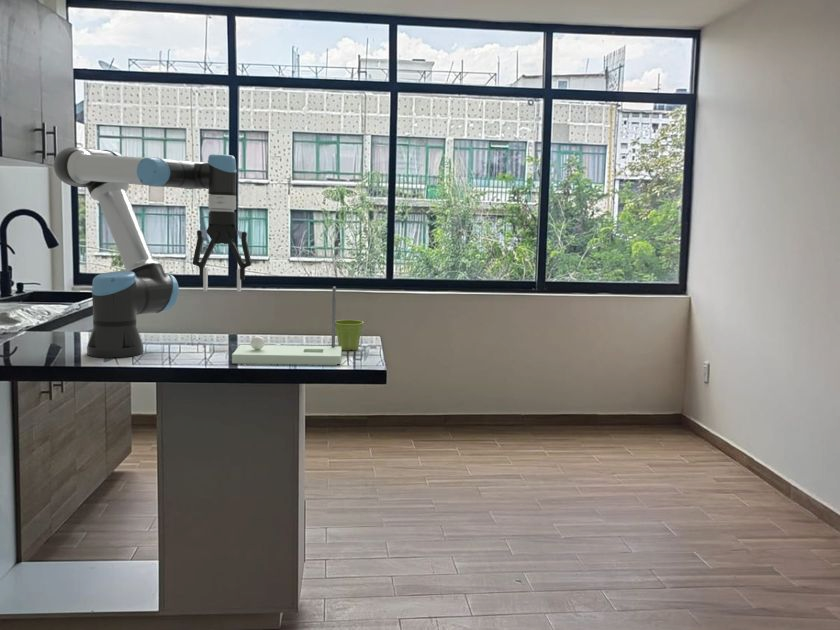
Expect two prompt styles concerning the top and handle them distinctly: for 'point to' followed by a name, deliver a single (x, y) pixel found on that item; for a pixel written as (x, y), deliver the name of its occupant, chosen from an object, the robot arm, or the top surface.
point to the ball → (257, 342)
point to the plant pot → (348, 333)
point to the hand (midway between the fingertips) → (222, 290)
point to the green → (292, 351)
